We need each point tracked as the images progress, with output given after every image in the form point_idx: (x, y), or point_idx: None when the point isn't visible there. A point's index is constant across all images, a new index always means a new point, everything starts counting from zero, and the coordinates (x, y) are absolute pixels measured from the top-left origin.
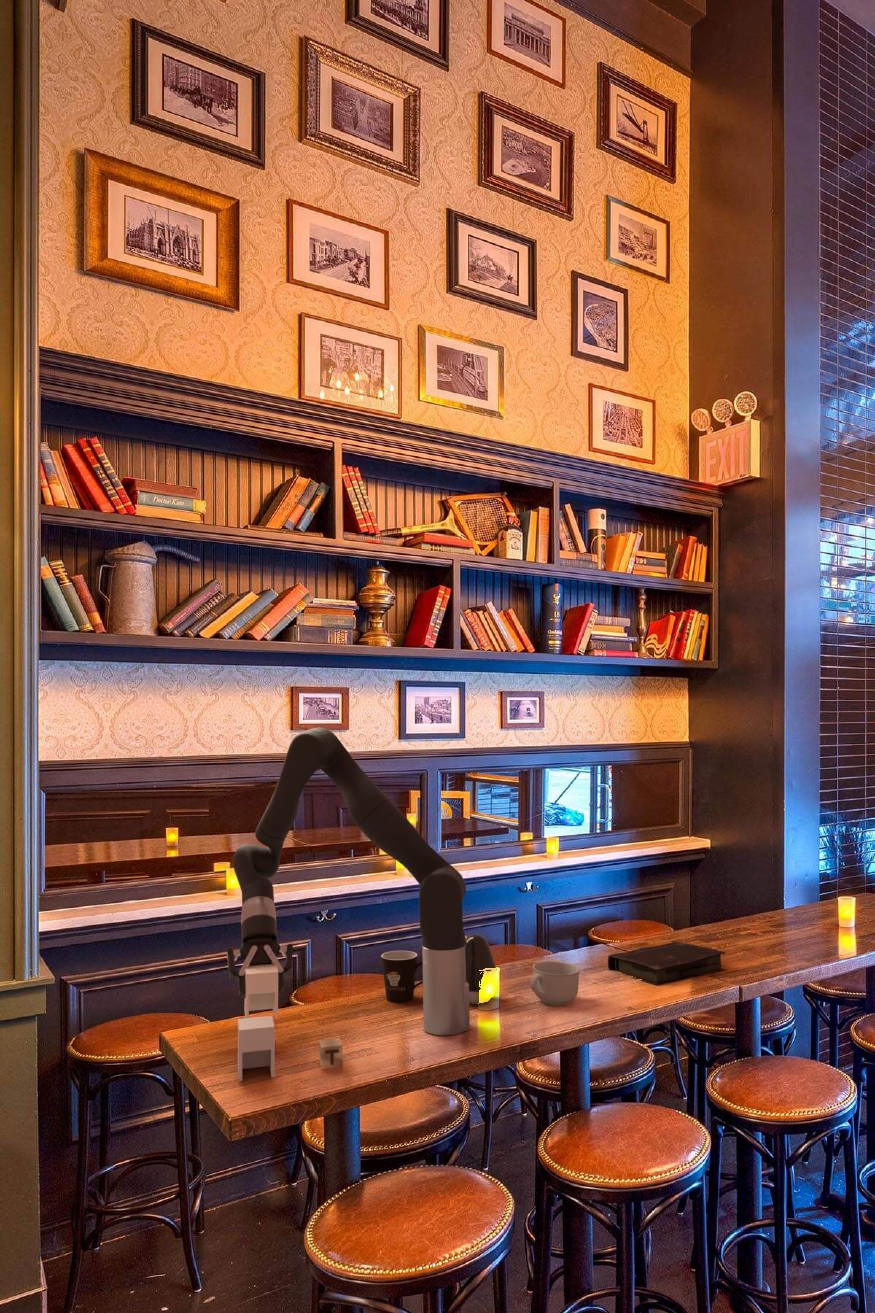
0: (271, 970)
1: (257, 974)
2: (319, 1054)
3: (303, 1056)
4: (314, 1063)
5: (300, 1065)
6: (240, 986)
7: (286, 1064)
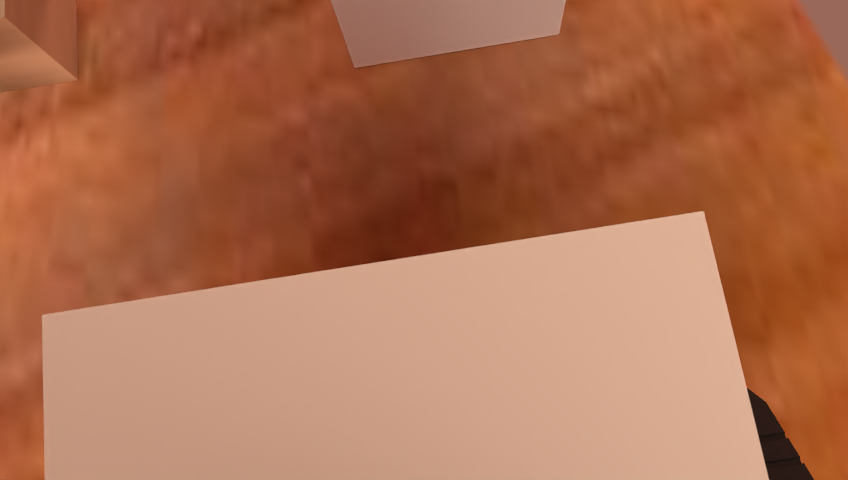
0: (174, 430)
1: (464, 251)
2: (51, 33)
3: (164, 172)
4: (106, 56)
5: (188, 38)
6: (764, 446)
7: (269, 62)
